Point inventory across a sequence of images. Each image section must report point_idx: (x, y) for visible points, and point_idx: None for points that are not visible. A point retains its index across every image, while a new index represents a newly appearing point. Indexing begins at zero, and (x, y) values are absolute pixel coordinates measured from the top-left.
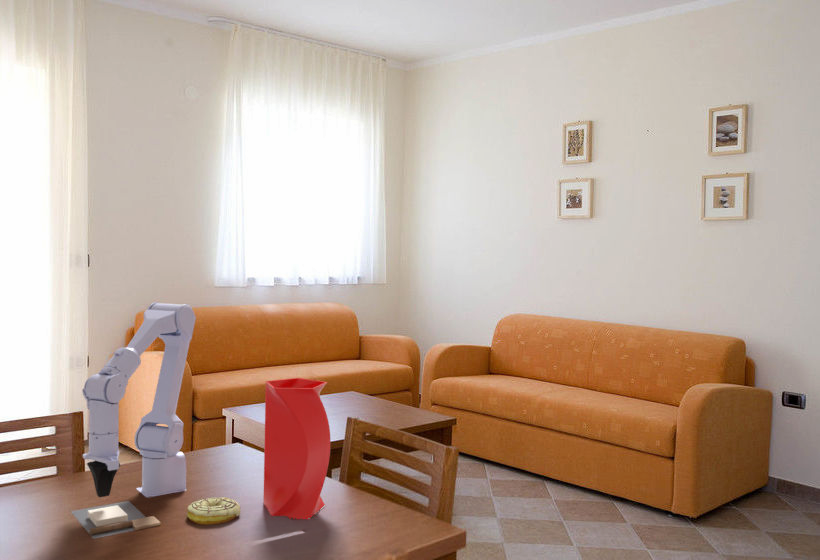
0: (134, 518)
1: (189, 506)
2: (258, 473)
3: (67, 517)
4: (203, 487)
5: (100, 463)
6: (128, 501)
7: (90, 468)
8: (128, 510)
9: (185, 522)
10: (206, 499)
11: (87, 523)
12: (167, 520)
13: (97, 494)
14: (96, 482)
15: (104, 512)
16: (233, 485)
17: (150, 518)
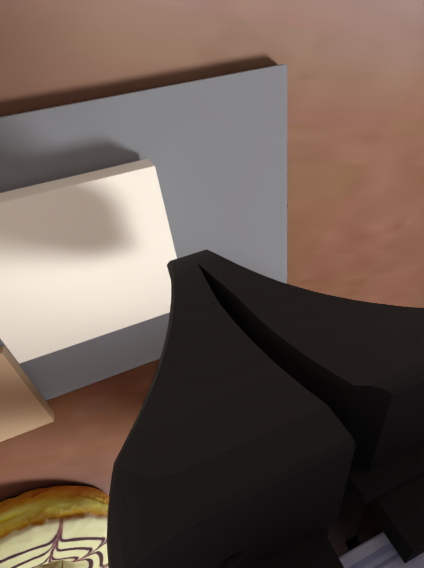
0: (72, 355)
1: (34, 538)
2: None
3: (236, 40)
4: None
5: (297, 551)
6: None
7: (342, 354)
8: None
9: (22, 479)
10: (85, 558)
11: (37, 153)
12: (57, 435)
13: (194, 256)
14: (186, 314)
15: (88, 258)
16: None
17: (19, 420)
